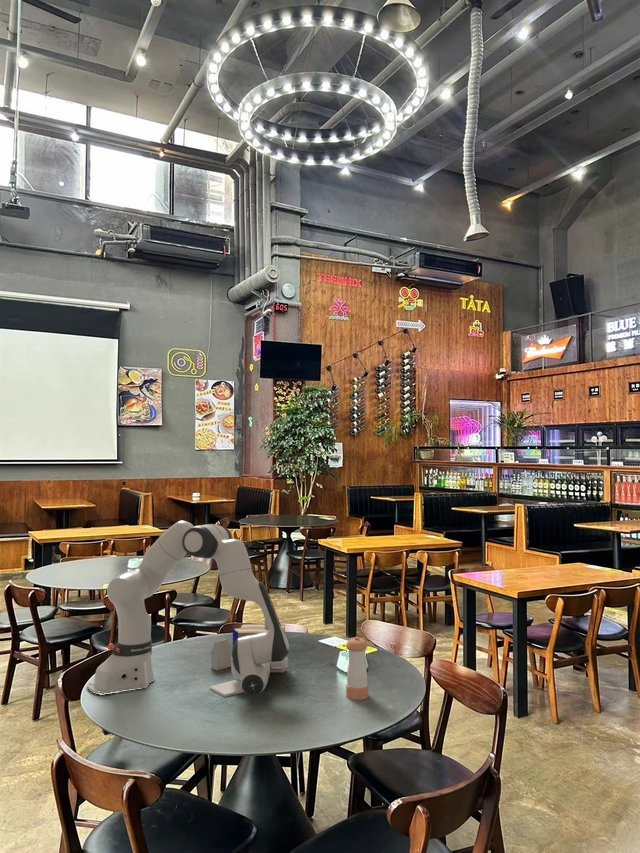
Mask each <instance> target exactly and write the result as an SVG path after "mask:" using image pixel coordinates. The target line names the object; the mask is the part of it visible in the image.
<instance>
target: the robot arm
mask: <svg viewBox="0 0 640 853" xmlns="http://www.w3.org/2000/svg"><path fill="white" fill-rule="evenodd" d="M186 555H189V556H191V557H195V558H199V559H200V558H202V559H208V560H210V559H214V561H216V564H217V568H218V570H217V571H218V575H219V580H220V585H221V587H222V591H224V593H225V594H227V596H229V597H231V598H233V599H237V600H243V601H249V602H252V603H255V604H256V605H257V606H259V607H260V609H261V612H262V614H263V618H264V621H265V620H266V623H267V626H268V628H269V629H268V631H266V632H263V633H258V634H254V635H248V636H243V637H240V638H238V639H237V640H236V641H235V643H234V645H233V644H232V647H231V666H230V668H231V669H230V671H231V674H232V678H233V680H240V683H241V687H242V689H243V691H244V692H243V693H245V694H247V695H249V696H257V695H259V694H261V693H263V692H264V690H265V689H266V687H267V686H268V685H267V684H268V682H269V678H270V674H271V673H281V672H284V673H285V672H286V670H288V669H289V657H288V656H287V655H288V654H289V651H290V645H289V641H288V637H287V635H286V634H285V633H286V632H285V633H284V632H283V630H282V627H281V625H280V624H281V622H280V620H279V616H278V615H277V610H276V608H275V607H274V604H273V601H272V598H271V597H270V593H269V591H268V589H267V587H266V585H265V583H264V582H263V581H262V582H261V581H259V580H258V579H257V578H256V577H255V575H254V573H253V569H252V564H251V560H250V557H249V554H248V549H247V547H246V546H245V543H244V542H243V541H242V540H240V539H238V538H233V536H232V532H231V531H230V530H229V528H227V527H226V526H225V525H222V524H213V523H207V524H203V525H202V524H201V525H195V526H194V524H192V523H191V522H188V521H186V520H179V521H177V522H175V523H174V524H173V525H171V526H170V527H169V528H168V529H166V530H165V531H164V532H162V534H161V535H160V536H159V537H158V538H157V539H156V540H155V542H154V543H152V545H151V546H150V547H149V548H148V549H147V550H146V551H145V552H144V555H143V559H142V560H141V562H140V564H139V565H138V566H137V567H135V568H133V569H132V570H129V571H126V572H124V573H121V574H118V575H117V576H115V577H114V578H113V579H112V580H110V581H109V583H108V585H107V587H106V595H107V598H108V600H109V601H110V602H111V603H112V604H113V606H114V607H115V608H114V609H115V610H116V615H117V621H118V625H117V627H118V632H117V633H118V638H117V640H118V641H116V643H115V644H114V643H112V642H110V643H108V645H107V648H108V649H109V650H110V651H112V654H111V655H110V656H109V657H108V658H107V659H105V661H103V662H101V664H100V665H99V666H97V668H96V670H95V673H94V679H93V680H92V681H89V682H88V684H87V687H88V688H87V690H88V689H89V690H90V691H92V692H95V693H102V694H104V693H110V692H116V691H122V690H129V689H137V688H145V687H147V686H148V684H149V683H151V682H153V681H154V682H155V680H156V679H155V678H156V677H155V675H154V670H153V665H152V654H153V640H152V639H153V638H152V637H151V636H152V635H151V634H152V633H151V632H152V618H151V615H150V614H149V613H147V610H146V606H145V599H147V598H151V596H153V595H154V594H156V593H157V592H158V591H159V590H160V588H161V586H162V584H163V582H164V581H165V579H166V577H167V576H168V575H169V573H171V571H172V570H173V569H175V567H176V566H177V565H178V564H179V562H180V561H182V559H183V558H184V557H185V556H186ZM154 682H153V683H154ZM151 684H152V683H151ZM149 685H150V684H149ZM148 687H149V686H148ZM148 687H147V688H148ZM145 689H146V688H145ZM89 690H88V691H89ZM90 691H89V692H90ZM98 691H100V692H98ZM92 692H91V693H92Z"/></svg>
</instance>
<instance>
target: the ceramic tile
mask: <svg viewBox="0 0 640 853" xmlns="http://www.w3.org/2000/svg"><path fill="white" fill-rule="evenodd" d="M209 690H211V691H212V692H215V693H216V694H218V695H220V696H222V697H224V698H226V697H230V696H233V695H237V694H241V692H242V693H245V692H244V691H243V689H242V687H241V681H238V680H237V679H233V680H230V681H226V682H221V683H219V684H218V683H217V684H214V685H210V686H209Z"/></svg>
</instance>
